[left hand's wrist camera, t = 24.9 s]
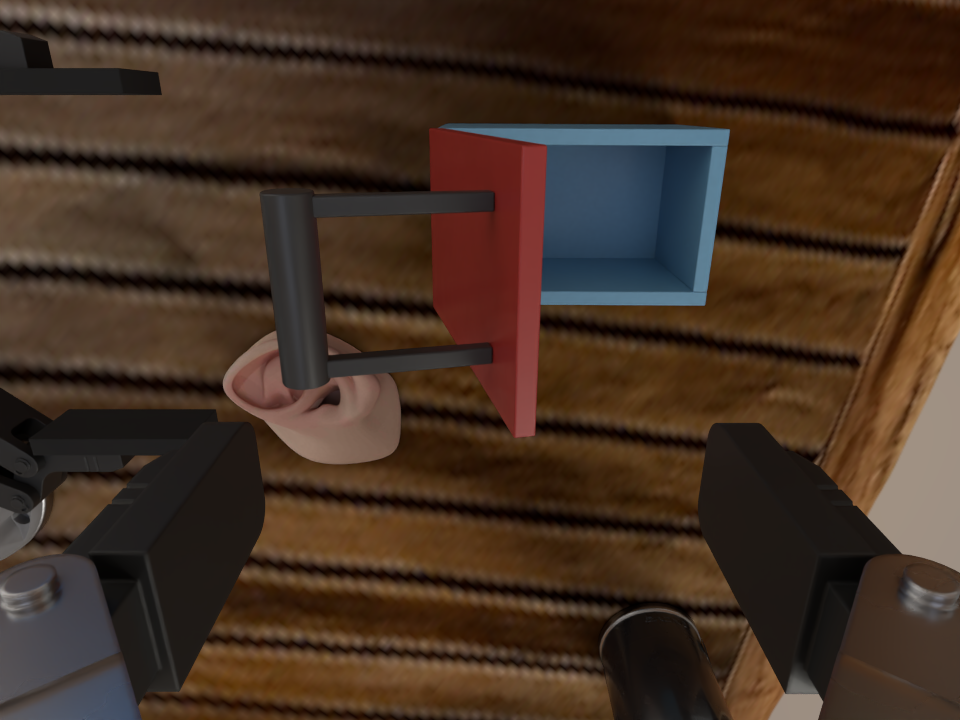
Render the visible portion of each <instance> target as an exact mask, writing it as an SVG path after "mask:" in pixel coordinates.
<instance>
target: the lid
mask: <svg viewBox="0 0 960 720" xmlns="http://www.w3.org/2000/svg"><path fill="white" fill-rule="evenodd" d="M429 138H430V181H431V191H418V192H378V193H338V194H314V191H313V190H310V189H302V188H282V189H270V190H264V191H262V192H260V201H261V209H262V217H263V226H264V234H265V242H266V251H267V259H268V267H269V276H270V284H271V292H272V300H273V309H274V317H275V325H276V334H277V342H278V350H279V358H280V367H281V375H282V383H283V385H284V386H285V387H287V388H289V389H294V390H309V389H315V388H319V387H321V386H324V385H326V384H327V383H328V382H329V381H330V379H331V378H337V377H348V376H359V375H370V374H382V373H393V372H404V371H415V370H427V369H438V368H449V367H460V366H470V367H471V368H472V370H473V372H474V373H475V375H476V376H477V378H478V380H479V381H480V383H481V385H482V386H483V388H484V390H485V391H486V393H487V394H488V396H489V398H490V399H491V401H492V403H493V404H494V406H495V407H496V409H497V411H498V412H499V414H500V416H501V417H502V419H503V420H504V422H505V424H506V425H507V427H508V429H509V430H510V432H511V433H512V435H513V437H514V438H519V437H528V436H534V435H535V427H536V403H537V379H538V355H539V331H540V307H541V284H542V260H543V236H544V212H545V188H546V164H547V145H544V144H538V143H532V142H526V141H520V140H513V139H507V138H501V137H495V136H489V135H483V134H477V133H470V132H464V131H458V130H452V129H446V128H430V129H429ZM412 214H431V224H432V267H433V306H434V308H435V310H436V311H437V313H438V315H439V316H440V318H441V320H442V321H443V323H444V324H445V326H446V328H447V329H448V331H449V333H450V334H451V336H452V337H453V339H454V341H455V342H456V344H457V345H448V346H435V347H423V348H411V349H398V350H386V351H374V352H361V353H349V354H337V355H329V353H328V342H327V330H326V319H325V308H324V297H323V286H322V275H321V263H320V252H319V241H318V230H317V219H316V218H322V217H352V216H382V215H412Z"/></svg>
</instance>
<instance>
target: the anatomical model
mask: <svg viewBox="0 0 960 720" xmlns="http://www.w3.org/2000/svg"><path fill="white" fill-rule="evenodd" d="M327 342H328V353H329V355H337V354H349V353H361V352H360V351H359V350H357V349H356V348H354V347H353V346H351V345H349V344H348V343H346V342H344V341H342V340H340V339H338V338H336V337H334V336H331V335H329V334H327ZM223 388H224V391H225V393H226V394H227V396H228V397H229V398H230V399H231V400H232V401H233V402H235V403H236V404H237V405H238V406H240V407H241V408H243V409H244V410H246V411H247V412H249V413H251V414H253V415H255V416H257V417H259V418H261V419H263V420H264V421H265V422H266V423H267V424H268V425H269V426H270V427H271V429H272V430H273V431H274V432H275V433H276V434H277V435H278V436H279V437H280V438H281V439H282V440H283V441H284V442H285V443H286V444H287V445H288V446H289V447H290V448H291V449H293V450H294V451H295V452H296V453H298V454H299V455H301V456H303V457H305V458H307V459H309V460H312V461H315V462H320V463H327V464H351V463H360V462H367V461H372V460H377V459H381V458H384V457H386V456H388V455H390V454H391V453H393V452H394V451H395V449H396V448H397V446H398V443H399V439H400V431H401V407H400V401H399V394H398V389H397V386H396V383H395V382H394V380H393V378H392V377H391V376H390V375H389V374H388V373H382V374H370V375H359V376H348V377H337V378H331V379H330V381H329V382H328V383H327V384H326V385H324V386H321V387H319V388H315V389H309V390H294V389H289V388H287V387H285V386H284V385H283V383H282V375H281V367H280V358H279V350H278V342H277V334H276V331H274V332H272V333H270V334H268V335H266V336H264V337H263V338H262V339H260V340H259V341H258V342H257V343H255V344H254V345H253V346H252V347H251V348H250V349H249V350H248V351H247V352H245V353H244V354H243V355H242V356H240V357H239V358H238V359H237V360H236V361H235V362H234V363H233V365H232V366H231V367H230V368H229V370H228V371H227V373H226V374H225V377H224V380H223Z"/></svg>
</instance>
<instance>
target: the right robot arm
mask: <svg viewBox="0 0 960 720" xmlns="http://www.w3.org/2000/svg"><path fill="white" fill-rule="evenodd" d="M0 95H162V93H161V87H160V81H159V76H158V72H148V71H139V70H130V69H121V68H53V64H52V59H51V55H50V50H49V46H48V42H47V41H45V40H43V39H40V38H38V37H35V36H33V35H28V34H22V33H16V32H9V31H0ZM204 422H218V420H217V414H216V409H69V410H68V411H66V412H65V413H63V414H62V415H61V416H59V417H58V418H57V419H55V420H54V421H53V420H51V419H50V418H48V417H46V416H45V415H43V414H42V413H40V412H38V411H37V410H35V409H34V408H32V407H30V406H29V405H27V404H26V403H24V402H22V401H21V400H19V399H18V398H16V397H14V396H13V395H11V394H10V393H8V392H6V391H5V390H3V389H2V388H0V560H3V559H5V558H7V557H8V556H10V555H12V554H13V553H15V552H16V551H18V550H19V549H21V548H22V547H23V546H25V545H26V544H27V543H28V542H29V541H30V540H31V539H32V538H33V537H34V536H35V535H36V534H38V532H39V531H40V530H41V529H42V528H43V527H44V525H45V524H46V522H47V520H48V518H49V516H50V513H51V510H52V505H53V491H54V490H55V489H56V488H57V487H58V486H59V485H60V484H62V483H63V482H64V481H65V480H66V478H67V472H88V471H90V472H98V471H100V472H113V471H115V470H118V469H121V468H123V467H124V466H125V465H126V464H127V463H128V462H129V461H130V460H131V459H132V458H133V457H134V456H135V455H164V454H165V453H167V452H169V451H170V450H179V449H180V448H181V447H182V446H183V444H184V443H185V442H186V441H187V440H188V439H189V438H190V437H191V435H192V434H193V433H194V432H195V431H196V430H197V429H198V427H199V426H200V425H201V424H202V423H204Z"/></svg>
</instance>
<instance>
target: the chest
mask: <svg viewBox="0 0 960 720" xmlns="http://www.w3.org/2000/svg"><path fill="white" fill-rule="evenodd" d="M439 128H446V129H452V130H458V131H464V132H470V133H477V134H483V135H489V136H495V137H501V138H507V139H513V140H520V141H526V142H532V143H538V144H544V145H547V164H546V188H545V212H544V236H543V260H542V284H541V305H705V301H706V294H707V292H706V291H707V287H708V280H709V273H710V266H711V259H712V252H713V245H714V238H715V231H716V224H717V217H718V210H719V203H720V196H721V189H722V181H723V174H724V167H725V160H726V153H727V145H728V139H729V132H730V130H729V129H720V128H709V127H698V126H686V125H640V124H450V123H448V124H445V125H443V126H441V127H439Z"/></svg>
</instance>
